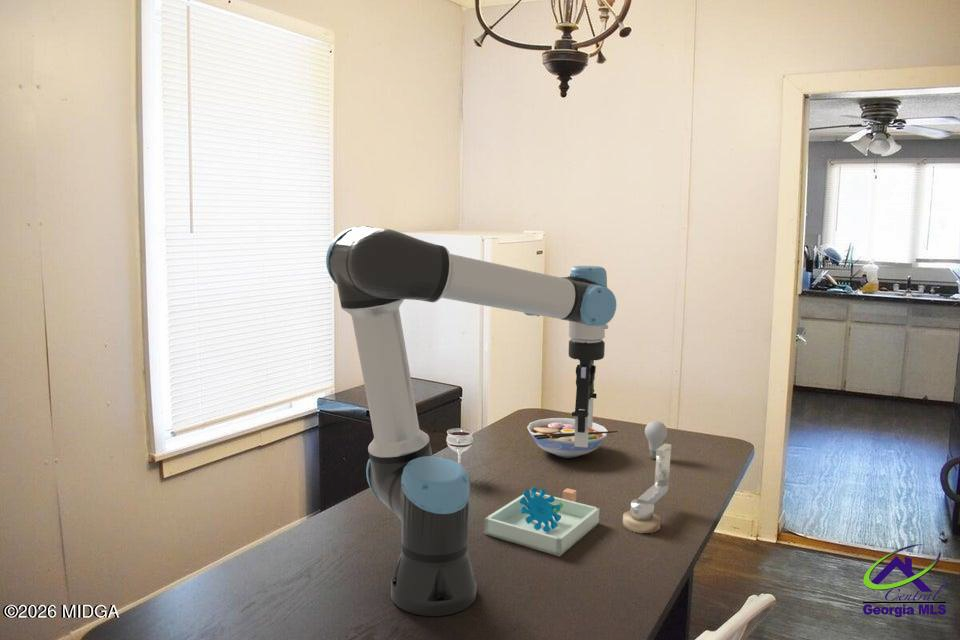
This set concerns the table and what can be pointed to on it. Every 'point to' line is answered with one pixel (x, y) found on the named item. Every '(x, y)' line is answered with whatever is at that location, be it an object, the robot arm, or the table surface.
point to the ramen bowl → (565, 436)
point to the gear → (540, 509)
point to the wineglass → (459, 440)
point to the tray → (543, 525)
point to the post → (569, 495)
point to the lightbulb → (655, 436)
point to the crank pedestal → (641, 524)
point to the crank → (653, 487)
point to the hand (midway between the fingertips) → (583, 436)
